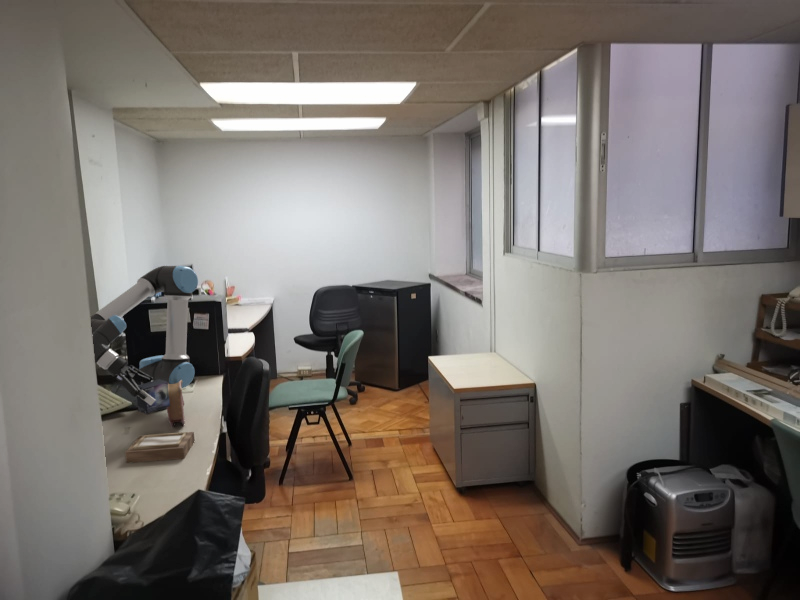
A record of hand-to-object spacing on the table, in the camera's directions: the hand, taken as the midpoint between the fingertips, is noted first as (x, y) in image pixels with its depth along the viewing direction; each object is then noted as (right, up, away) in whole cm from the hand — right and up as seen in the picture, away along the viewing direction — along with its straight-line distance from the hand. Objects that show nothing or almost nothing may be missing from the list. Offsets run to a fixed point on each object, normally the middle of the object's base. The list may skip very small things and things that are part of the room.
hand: (158, 397), depth 239 cm
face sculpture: (+2, -13, +16) cm, 21 cm away
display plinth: (+8, -17, -16) cm, 25 cm away
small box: (-2, -5, +1) cm, 5 cm away
